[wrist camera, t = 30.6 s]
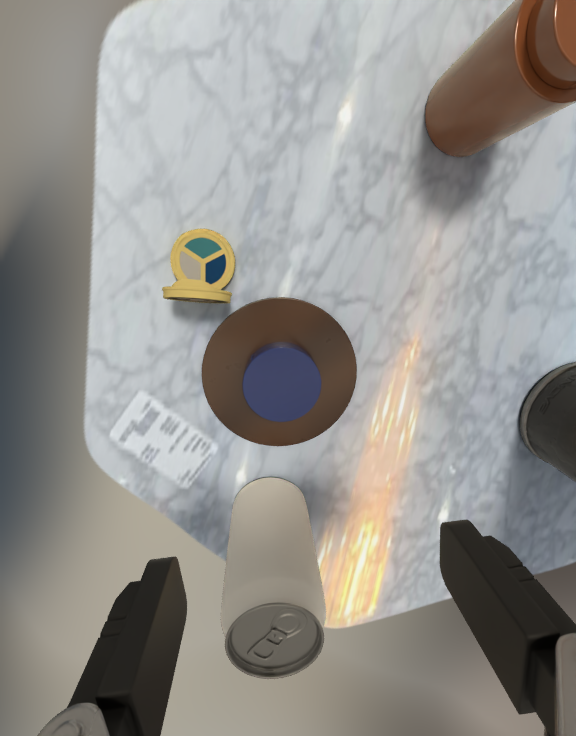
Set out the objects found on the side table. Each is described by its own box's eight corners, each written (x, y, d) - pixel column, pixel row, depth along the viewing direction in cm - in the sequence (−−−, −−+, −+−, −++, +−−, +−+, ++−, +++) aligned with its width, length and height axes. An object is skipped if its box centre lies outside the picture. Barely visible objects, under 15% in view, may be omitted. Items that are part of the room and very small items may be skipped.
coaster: (385, 362, 29) (387, 364, 28) (289, 468, 31) (290, 472, 31) (268, 262, 26) (268, 262, 26) (171, 386, 28) (170, 388, 28)
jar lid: (227, 381, 28) (225, 389, 26) (276, 325, 27) (277, 329, 25) (283, 425, 29) (285, 436, 27) (332, 374, 28) (337, 381, 27)
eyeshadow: (236, 231, 26) (230, 224, 21) (234, 303, 27) (228, 312, 22) (172, 226, 25) (151, 218, 20) (173, 299, 27) (154, 307, 22)
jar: (518, 107, 25) (699, -1, 15) (461, 174, 26) (594, 117, 15) (466, 43, 23) (623, -124, 13) (408, 116, 24) (514, 12, 14)
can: (320, 497, 32) (354, 628, 21) (277, 548, 33) (287, 698, 22) (260, 461, 31) (261, 580, 19) (218, 515, 32) (194, 658, 20)
